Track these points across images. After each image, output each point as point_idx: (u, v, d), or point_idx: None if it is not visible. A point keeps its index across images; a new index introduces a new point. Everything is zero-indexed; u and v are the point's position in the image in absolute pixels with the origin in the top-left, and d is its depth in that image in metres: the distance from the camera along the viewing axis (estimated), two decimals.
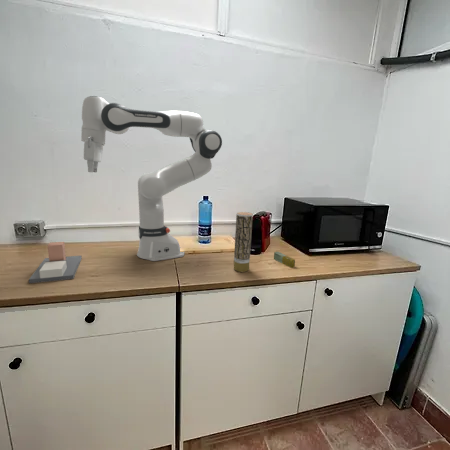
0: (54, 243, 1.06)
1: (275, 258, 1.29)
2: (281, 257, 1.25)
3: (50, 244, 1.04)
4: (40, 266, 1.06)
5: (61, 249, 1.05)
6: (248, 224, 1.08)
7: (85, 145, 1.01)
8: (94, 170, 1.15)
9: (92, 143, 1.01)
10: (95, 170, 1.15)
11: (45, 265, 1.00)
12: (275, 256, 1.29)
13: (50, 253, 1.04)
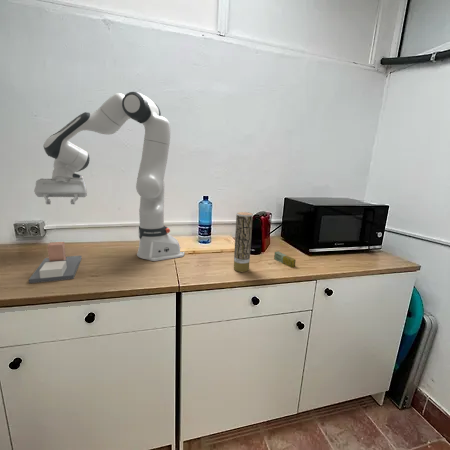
0: (54, 243, 1.06)
1: (275, 258, 1.29)
2: (281, 257, 1.25)
3: (50, 244, 1.04)
4: (40, 266, 1.06)
5: (61, 249, 1.05)
6: (248, 224, 1.08)
7: None
8: (71, 202, 1.18)
9: None
10: None
11: (45, 265, 1.00)
12: (275, 256, 1.29)
13: (50, 253, 1.04)
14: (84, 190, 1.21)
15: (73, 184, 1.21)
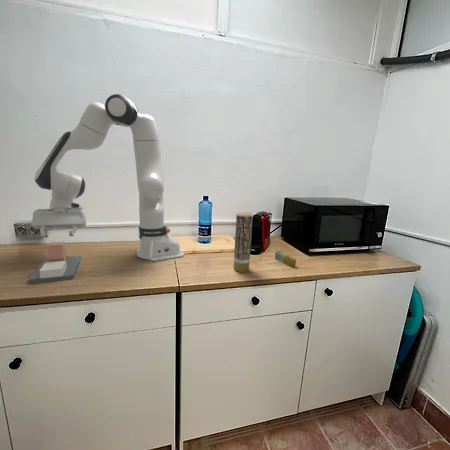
0: (54, 243, 1.06)
1: (276, 258, 1.30)
2: (282, 257, 1.25)
3: (50, 244, 1.04)
4: (40, 266, 1.06)
5: (61, 249, 1.05)
6: (248, 224, 1.08)
7: None
8: None
9: None
10: None
11: (45, 265, 1.00)
12: (276, 256, 1.29)
13: (50, 253, 1.04)
14: (83, 221, 1.16)
15: (72, 214, 1.16)
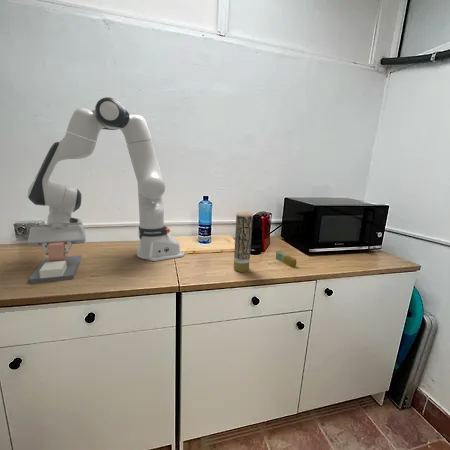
0: (54, 243, 1.06)
1: (277, 258, 1.30)
2: (283, 257, 1.26)
3: (50, 244, 1.04)
4: (40, 266, 1.06)
5: (61, 249, 1.05)
6: (248, 224, 1.08)
7: None
8: None
9: None
10: None
11: (45, 265, 1.00)
12: (277, 256, 1.30)
13: (50, 253, 1.04)
14: (82, 236, 1.11)
15: (70, 230, 1.11)
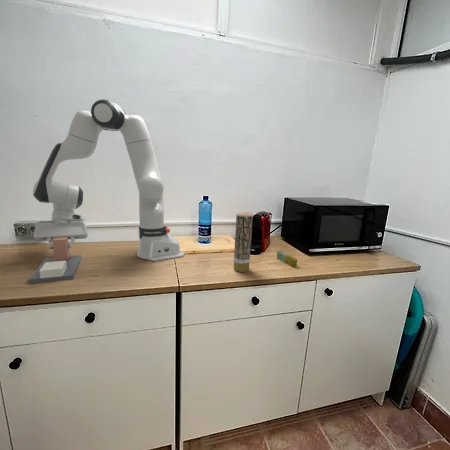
0: (59, 238, 1.12)
1: (278, 257, 1.30)
2: (283, 256, 1.26)
3: (54, 239, 1.11)
4: (40, 266, 1.06)
5: (65, 243, 1.12)
6: (248, 224, 1.08)
7: None
8: None
9: None
10: None
11: (45, 265, 1.00)
12: (278, 255, 1.30)
13: (54, 247, 1.11)
14: (85, 232, 1.17)
15: (73, 226, 1.18)
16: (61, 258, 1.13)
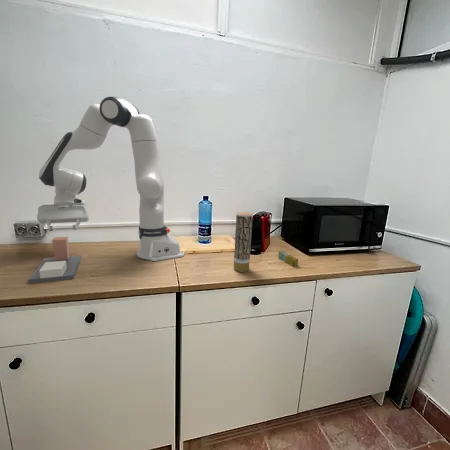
0: (59, 238, 1.13)
1: (279, 257, 1.30)
2: (285, 256, 1.26)
3: (54, 239, 1.11)
4: (40, 266, 1.06)
5: (65, 243, 1.12)
6: (248, 224, 1.08)
7: None
8: (73, 227, 1.20)
9: None
10: None
11: (45, 265, 1.00)
12: (279, 255, 1.30)
13: (54, 247, 1.11)
14: (86, 215, 1.23)
15: (75, 209, 1.23)
16: (61, 258, 1.13)
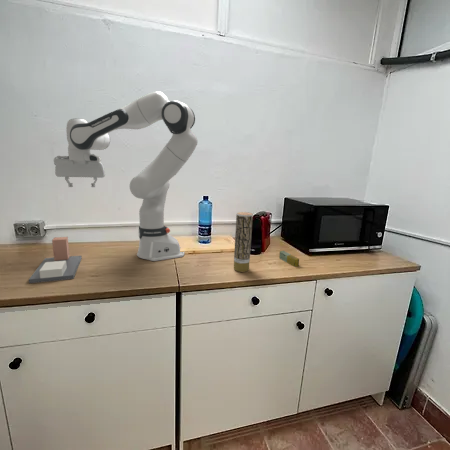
0: (59, 238, 1.13)
1: (280, 257, 1.31)
2: (286, 256, 1.27)
3: (54, 239, 1.11)
4: (40, 266, 1.06)
5: (65, 243, 1.12)
6: (248, 224, 1.08)
7: None
8: None
9: (56, 162, 1.17)
10: None
11: (45, 265, 1.00)
12: (280, 255, 1.31)
13: (54, 247, 1.11)
14: (103, 174, 1.24)
15: (91, 166, 1.22)
16: (61, 258, 1.13)
